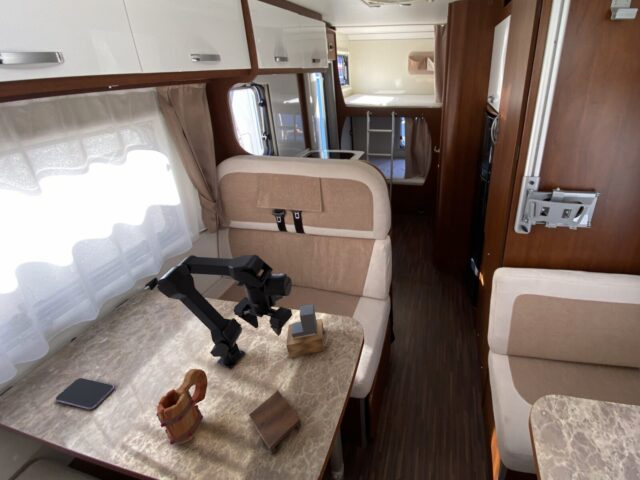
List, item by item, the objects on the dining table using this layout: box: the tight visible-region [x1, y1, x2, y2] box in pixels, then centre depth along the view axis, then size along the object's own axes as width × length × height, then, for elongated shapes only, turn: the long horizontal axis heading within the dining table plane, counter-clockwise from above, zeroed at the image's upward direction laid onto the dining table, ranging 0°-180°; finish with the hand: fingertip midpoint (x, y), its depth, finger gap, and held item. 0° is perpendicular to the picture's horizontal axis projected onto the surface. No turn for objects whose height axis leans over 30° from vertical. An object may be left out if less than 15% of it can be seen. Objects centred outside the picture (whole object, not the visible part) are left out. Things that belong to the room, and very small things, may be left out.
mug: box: [155, 368, 209, 446], centre depth 83 cm, size 15×8×15 cm, turn 168°
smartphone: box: [54, 377, 115, 411], centre depth 95 cm, size 7×1×15 cm
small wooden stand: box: [248, 390, 302, 455], centre depth 84 cm, size 12×9×3 cm
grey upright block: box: [292, 303, 317, 339], centre depth 104 cm, size 8×5×10 cm, turn 101°
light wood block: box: [285, 318, 325, 359], centre depth 107 cm, size 12×9×6 cm
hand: (268, 331), depth 98 cm, fingers open, 9 cm apart
